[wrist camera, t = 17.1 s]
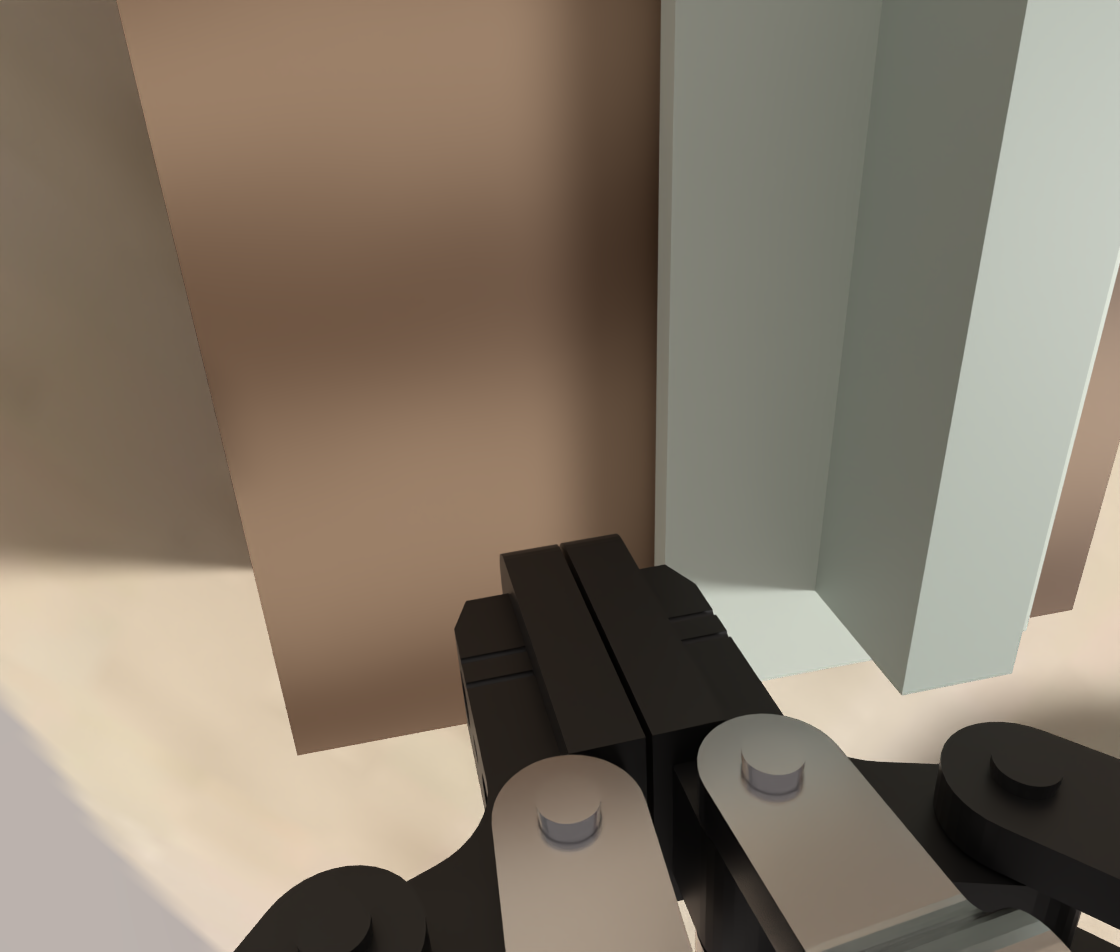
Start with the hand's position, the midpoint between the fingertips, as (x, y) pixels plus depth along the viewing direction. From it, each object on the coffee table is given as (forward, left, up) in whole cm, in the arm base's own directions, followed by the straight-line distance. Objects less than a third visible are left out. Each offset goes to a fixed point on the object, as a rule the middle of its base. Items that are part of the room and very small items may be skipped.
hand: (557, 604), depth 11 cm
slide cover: (+3, -7, -4) cm, 8 cm away
